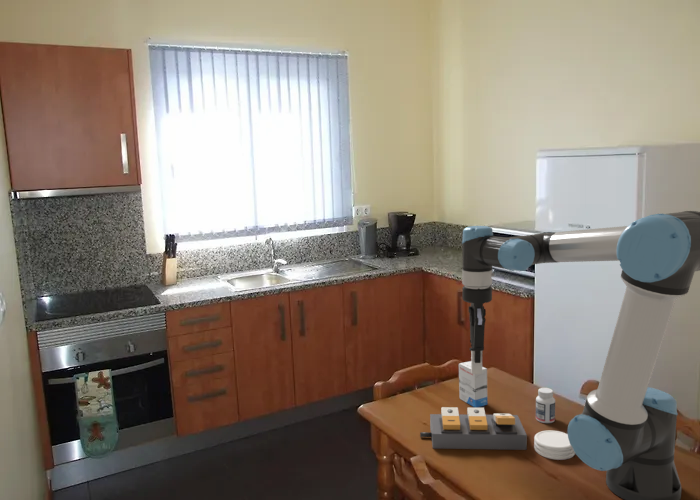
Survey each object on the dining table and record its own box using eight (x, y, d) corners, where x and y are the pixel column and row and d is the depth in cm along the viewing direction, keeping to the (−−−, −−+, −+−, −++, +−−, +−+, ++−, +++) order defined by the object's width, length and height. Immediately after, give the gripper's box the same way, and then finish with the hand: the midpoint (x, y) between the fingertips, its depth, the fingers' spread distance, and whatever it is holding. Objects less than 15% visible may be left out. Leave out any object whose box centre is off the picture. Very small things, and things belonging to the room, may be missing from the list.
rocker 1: (460, 429, 152) (460, 424, 151) (443, 429, 152) (443, 424, 152) (457, 412, 158) (457, 407, 158) (441, 411, 159) (441, 407, 158)
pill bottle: (552, 415, 169) (553, 386, 168) (556, 423, 164) (557, 393, 163) (533, 415, 170) (534, 386, 168) (537, 423, 164) (538, 393, 163)
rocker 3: (515, 424, 150) (514, 417, 150) (497, 424, 150) (497, 417, 150) (510, 419, 157) (509, 413, 157) (493, 419, 157) (493, 413, 157)
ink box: (488, 405, 177) (488, 368, 176) (474, 408, 175) (474, 371, 174) (471, 395, 185) (471, 360, 183) (457, 398, 183) (457, 362, 181)
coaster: (562, 440, 155) (562, 427, 154) (583, 458, 145) (583, 445, 145) (527, 444, 153) (527, 431, 153) (545, 462, 144) (545, 449, 143)
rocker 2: (487, 430, 151) (487, 424, 151) (470, 429, 152) (470, 424, 151) (483, 412, 158) (483, 407, 157) (467, 412, 158) (467, 407, 157)
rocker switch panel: (526, 449, 150) (526, 430, 149) (421, 448, 152) (420, 429, 151) (517, 428, 162) (517, 410, 161) (419, 427, 164) (419, 409, 163)
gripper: (496, 291, 144) (495, 382, 147) (488, 280, 157) (487, 364, 160) (465, 291, 144) (465, 382, 148) (459, 280, 157) (459, 364, 161)
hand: (476, 372), depth 154 cm, fingers closed
